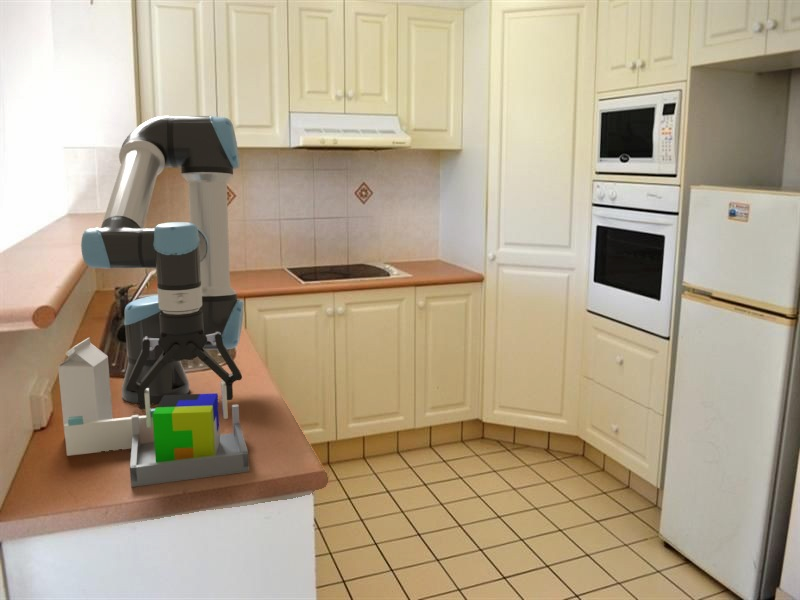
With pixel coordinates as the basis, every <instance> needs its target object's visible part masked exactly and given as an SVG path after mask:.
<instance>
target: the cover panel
mask: <svg viewBox="0 0 800 600" xmlns="http://www.w3.org/2000/svg"><path fill="white" fill-rule="evenodd" d="M156 408H157V407H155V408H150V409H151V427H147V422H146V414H145V415H138V416H139V430H140V444H144V443H152V442H154V428H153V412H154V411H155V409H156ZM64 431H65V434H64V439H65V440H64V441H65V448H66V449H65V450H66V456H69V457H70V456H77V455H85V454H93V453H102V452H101V451H105V452H110V451H109V450H113V451H119V450H118V449H122V450H127V449H128V450H129V449H130V450H131V449H132V438H133V431H132V416H128V417H127V416H126V417H118V418H113V419H106V420H96V421H87V422H83V416H75V417H69V418H68V423H67V424H65V425H64V424H63V432H64Z"/></svg>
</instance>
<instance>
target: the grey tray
mask: <svg viewBox="0 0 800 600" xmlns="http://www.w3.org/2000/svg"><path fill="white" fill-rule="evenodd" d="M239 407H240V406H239V404H232V405H231V409H232V410H231V413H232V414H231V415H232V432H231V433H224V434H220V444H219V447H218V450H217V453H216V455H213V456H205V457H197V458H189V459H181V460H173V461H165V462H157V463H156V457H155V443H154V442H152V443H144V444H140V430H139V416H140V415H139V414H132V415H131V417H132V431H133V438H132V448H131V449H130V451H131V452H130V463H129V472H130V474H129V476H130V488H135V487H143V486H150V485H155V484H156V485H157V484H164V483H173V482H182V481H187V480H194V479H202V478H203V479H204V478H208V477H209V478H211V477H219V476H224V475H232V474H233V475H235V474H238V473H239V474H240V473H247V472H248V473H249V472H250V463H249V462H250V459H249V450H248V447H247V445H246V441H245V438H244V434H243V431H242V428H241V424H240V408H239Z"/></svg>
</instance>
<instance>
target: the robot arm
mask: <svg viewBox="0 0 800 600" xmlns="http://www.w3.org/2000/svg"><path fill="white" fill-rule="evenodd" d="M239 155H240V154H239V149H238V142H237V138H236V133H235V128H234V125H233V122H232V121H231V120H230V119H229V118H228V117H225V116H215V115H161V116H160V115H159V116H156V117H153V118H150V119H148V120H147V121H145V122H142V123H141V124H139V125H138V126H137V127H135V128H134V129H133V130H132V131H131V132H130V133H129V134H128V135H127V136H126V137H125V139H124V141H123V143H122V145H121V148H120V150H119V153H118V158H119V164H120V167H119V169H118V173H117V176H116V179H115V182H114V185H113V189H112V192H111V195H110V198H109V202H108V204H107V207H106V211H105V214H104V216H103V219H102V220H103V221H102V224H101V226H100V227H98V226H97V227H94V228H88V229H86V230H84V232H83V234H82V237H81V243H80V247H81V255H82V260H83V262H84V264H85V265H87V267H89V268H91V269H107V270H112V269H114V270H116V269H117V270H118V269H143V268H144V269H145V268H147V269H152V268H153V269H154V268H155V271H156V281H157V283H156V284H157V289H156V290H157V294H156V295H151V296H146V297H142V298H138V299H135V300H133V301H130V302H128V303H127V304H126V306H125V308H124V322H123V325H124V329H125V330H124V331H125V333H124V334H125V343H126V344H125V345H126V356H127V368H126V371H125V375H124V378H123V382H122V386H121V397H122V399H123V400H125V401H126V402H128V403H132V404H138V408H139V409H140V410H145V415H146V422H147V427H151V409H152V408H151V405H153V404H156V405H157V404H159V403H160V401H161V399H162V398H163V396H164V395H183V394H189V393H190V382H189V378H188V376H187V374H186V371H185V369H184V366H183V364H182V361H183V360H186V361H192V360H194V359H196V358H198V359H199V360H200V361H202V362H203V363H204V364H206V366H208V368H209V369H210V370H211V371H213V373H215V374H216V375H217V376H218V377H219V378H220V379H221V380H220V386H221V387H220V388H221V406H222V407H221V409H222V417H223V419H225V420H226V419H229V414H228V413H229V410H228V401H231V400H233V397H234V395H233V394H234V393H233V392H234V391H233V384H234V383H235V382H236V381H241V380H242V378H243V376H242V373H241V370H240V369H239V367H238V366H237V364H236V363H235V361H234V359H233V357H232V356H231V354H230V353H229V350H233V349H235V348H236V347H238V345H239V343H240V339H241V335H242V327H243V320H244V301H243V300H242V299H239V298H238V293H237V291H236V290H235V289H234V287H232V286H231V277H230V274H231V273H230V245H229V244H230V243H229V242H230V241H229V214H228V213H229V212H228V182H229V181H230V180H231V179H232V178H233V177H234V170H236V169H239V168H240V156H239ZM166 168H175V169H179V168H180V169H181V172H180V173H181V177H182V178H183V179H185V181H186V182H187V183H188V201H189V202H188V203H189V204H188V205H189V206H188V207H189V222H187V221H184V222H183V221H176V222H175V221H174V222H164V223H159V224H157V225H156V226H155V227H145V224H146V220H147V216H148V212H149V207H150V204H151V201H152V197H153V193H154V188H155V185H156V181H157V178H158V176H159V175H160V174H161V173H162V172H163V171H164V169H166ZM212 350H213V351H215V350H216V351H218V352H219V354H220V356H221V358H222V359H223V360H224V363H225V364H226V365H227V367H228V369H229V370H230V372H231V373H229V372H227V370H226V369H224V367H222V366H221V364H219V363H218V362H217V361H216V359H214V358H213V357H212V356H211V355H210V354H209V353H208V352H207V351H212Z"/></svg>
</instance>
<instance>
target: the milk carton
mask: <svg viewBox="0 0 800 600" xmlns="http://www.w3.org/2000/svg"><path fill="white" fill-rule="evenodd" d="M65 356H67V358H66V359H64V361H62V362H60V364H58V366H57V372H58V380H59V381H58V382H59V390H60V392H59V393H60V399H61V400H60V401H61V410H62V411H61V412H62V422H63V426H64V425H65V424H67V423H68V418H69V417H75V416H83V422H87V421H96V420H106V419H114V417H113V404H112V391H111V380H110V379H111V378H110V366H109V356H108V355H107V354H106V353H104V352H103V351H102V350H101V349H99V348H98V347H96V346H95V345H94V344H93V343H91V337H87V338H86V339H84V340H82V341H81V342H79V343H78V344H76V345H74V346H73V347H71V348H70V349H69V350H67V351H66V352H65ZM63 433H64V435H65V431H64V430H63Z"/></svg>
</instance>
